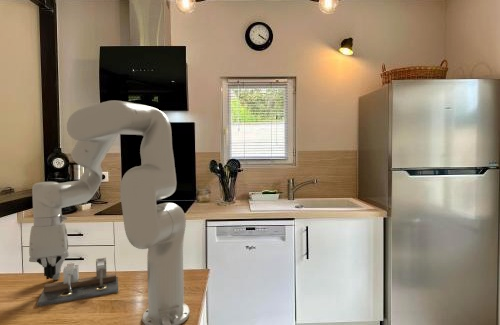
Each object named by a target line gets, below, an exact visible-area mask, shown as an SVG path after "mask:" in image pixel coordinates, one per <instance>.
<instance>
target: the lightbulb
mask: <svg viewBox="0 0 500 325" xmlns="http://www.w3.org/2000/svg"><path fill="white" fill-rule="evenodd" d="M47 258H48V262H49V264H51V261H52V257H47ZM65 259H66V258H64V259H60V260H59V261H58V262H57V263H56V274H55V275H54V276H53V278H52V279H51V280H54V281H57V280H59V279H60V278H61V272H62V270H61V269H62V266H63V264H64V262H65Z"/></svg>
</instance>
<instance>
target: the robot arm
mask: <svg viewBox="0 0 500 325" xmlns="http://www.w3.org/2000/svg"><path fill="white" fill-rule="evenodd" d="M170 122H171V121H170V120H169V118H168V116H167V115H166V114H165V113H164V112H163V111H162V110H159V109H158V108H156V107H153V106H149V105H146V104H141V103H136V102H135V103H134V102H129V101H124V100H123V101H122V100H115V99H114V100H112V99H111V100H107V101H102V102H99V103H96V104H92V105H89V106H85V107H82V108H79V109H76V111H73V113H71V115H70V116H69V117H68V119H67V122H66V131H67V133H68V135H69V137H70V138H71V139H73V140H75V141H76V142H75V145H74V146H73V148H72V150H71V153H70V155H71V158H72V161H74V162H75V164H77V165H79V166H80V167H82V168H83V169H84V171H83V173H82V174H81V177H80V178H79V179H78V180H73V181H66V182H57V181H41V182H36V183H34V184H33V185H32V187H31V189H32V190H31V192H32V194H31V195H32V211H33V212H32V213H33V214H32V215H33V219H32V220H33V225H32V226H31V228H30V234H29V242H28V245H29V246H28V248H29V249H28V254H29V259H28V262H30V263H38V264H39V265H40V266H42V268H43V275H44V277H45V278H46V280H49V279H51V280H53V279H52V278H53V276H54V275H55V274H56V263H57V262H58V261H59V260H60V259H64V258H65V259H66V258H69V255H70V254H69V251H68V250H69V241H68V231H67V227H66V223H65V222H64V221H67V219H68V216H67V215H63V213H62V209H63V208H66V207H67V208H68V207H72V206H76V205H81V204H85V203H87V202H88V201H90V200H92V198H93V197H94V196H95V194H96V192H97V191H98V189H99V187H100V186H101V184H102V179H103V169H102V166H101V165H102V162H103V161H104V159H105V158H106V155H107V154H108V152H109V151H110V149H111V147H112V146H113V144H114V142H115V141H116V140H117V138H118V136H119V135H136V136H142V137H143V138H142V140H141V144H140V149H139V151H140V152H139V154H140V159H141V164H140V165H139V166H137V165H136V166H134V167H132V168H130V169H128V170H127V171H126V172H124V175H123V177H122V179H121V182H120V186H119V188H120V190H119V192H120V204H121V210H122V217H123V219H122V220H123V227H124V232H125V236H126V239H127V240H128V241H129V243H130V245H131V246H132V247H134V248H136V249H138V250H147V253H146V254H147V256H146V257H147V260H146V261H147V262H146V263H147V264H146V265H147V267H146V268H147V309H145V310H144V312H143V313H142V324H144V325H181V324H183V323H185V321H186V320H188V318H189V317H190V314H191V313H190V311H191V310H190V307H189V305H187V304H186V303H184V302H185V298H184V297H185V296H184V295H185V293H184V291H185V290H184V288H185V287H184V240H185V233H186V226H187V225H186V223H187V221H186V220H187V219H186V214H185V212H184V210H183V208H182V207H181V206H179V205H178V204H176V203H174V202H163V203H159V204H157V201H160V200H163V199H166V198H168V197H170V196H172V195H173V194H174V193H175V192H176V190H177V184H178V182H177V173H176V167H175V166H176V165H175V157H174V149H173V136H172V133H173V132H172V126H171V125H172V124H171V123H170ZM47 257H52V261H51V264H49V262H48V258H47Z"/></svg>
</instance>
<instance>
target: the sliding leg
mask: <svg viewBox="0 0 500 325" xmlns="http://www.w3.org/2000/svg"><path fill="white" fill-rule="evenodd" d="M79 272H80V270H79V264H75V263H72V262H71V263H67V265H66V266H63V270H62V276H63V281H64V284H67V283H68V292H71V283H74V282H78V279H80V273H79ZM63 281H62V282H63Z"/></svg>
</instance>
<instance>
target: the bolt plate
mask: <svg viewBox="0 0 500 325" xmlns="http://www.w3.org/2000/svg"><path fill="white" fill-rule="evenodd" d="M115 293H119V277H118V276H116V281H110V282H104V283H103V286H102V287H100V283H98V284H92V285H86V286H80V287H74V288H71V292H68V288H67V289H61V290H55V291H49V292H44V289H43V290H42V292H41V294H40V296H39V299H38V300H37V307H43V306H44V307H45V306H48V305H49V306H50V305H55V304H59V303H60V304H61V303H66V302H71V301H76V300H83V299H89V298H93V297H99V296H104V295H109V294H110V295H111V294H115Z"/></svg>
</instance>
